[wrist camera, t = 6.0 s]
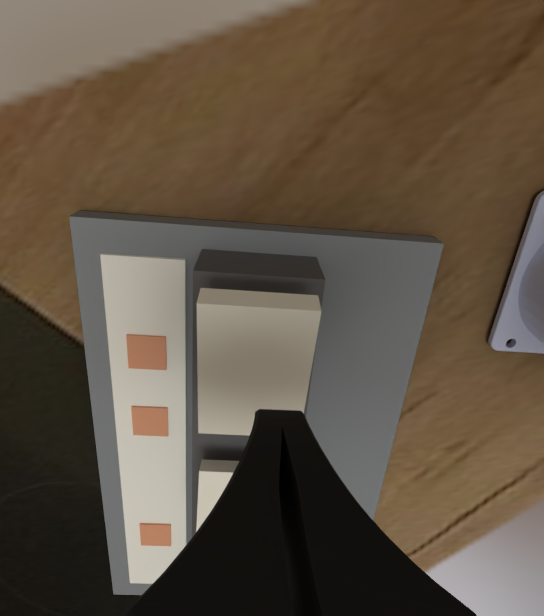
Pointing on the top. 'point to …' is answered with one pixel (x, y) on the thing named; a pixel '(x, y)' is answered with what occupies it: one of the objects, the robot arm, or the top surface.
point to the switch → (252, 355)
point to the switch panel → (342, 348)
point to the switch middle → (212, 485)
